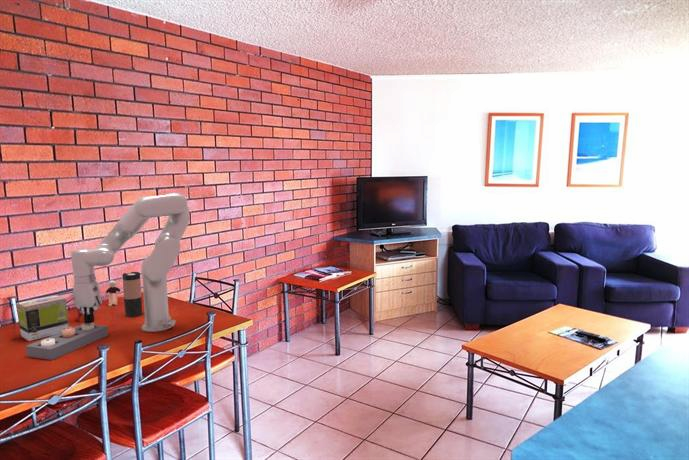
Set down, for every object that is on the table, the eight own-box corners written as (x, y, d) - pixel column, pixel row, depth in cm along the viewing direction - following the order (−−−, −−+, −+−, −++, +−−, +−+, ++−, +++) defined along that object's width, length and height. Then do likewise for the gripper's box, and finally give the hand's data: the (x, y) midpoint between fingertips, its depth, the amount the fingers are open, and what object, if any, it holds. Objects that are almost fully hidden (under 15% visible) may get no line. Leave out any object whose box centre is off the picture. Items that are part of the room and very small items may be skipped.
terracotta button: (78, 337, 180) (77, 326, 180) (68, 340, 176) (68, 330, 176) (69, 335, 182) (68, 325, 181) (59, 339, 177) (59, 329, 177)
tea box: (60, 327, 201) (57, 294, 199) (69, 332, 195) (66, 298, 193) (19, 336, 189) (16, 301, 187) (28, 342, 183) (24, 306, 181)
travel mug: (138, 317, 213) (135, 275, 211) (121, 317, 214) (119, 275, 211) (145, 312, 221) (143, 271, 219) (129, 312, 221) (127, 271, 219)
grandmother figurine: (107, 307, 230) (105, 282, 229) (104, 305, 233) (103, 281, 231) (123, 304, 235) (121, 279, 234) (120, 302, 238) (119, 278, 237)
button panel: (108, 335, 190) (107, 326, 189) (51, 360, 165) (50, 349, 165) (85, 332, 193) (84, 323, 193) (26, 356, 169) (25, 345, 168)
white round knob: (58, 349, 172) (57, 338, 171) (48, 353, 168) (47, 342, 167) (49, 347, 173) (48, 337, 173) (38, 352, 169) (37, 341, 169)
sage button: (97, 333, 189) (96, 323, 189) (88, 336, 185) (87, 326, 184) (88, 332, 190) (87, 322, 190) (79, 335, 186) (78, 325, 186)
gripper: (106, 277, 186) (111, 321, 189) (78, 276, 191) (82, 318, 193) (91, 282, 179) (96, 327, 182) (62, 280, 183) (67, 324, 186)
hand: (89, 322), depth 187 cm, fingers closed
